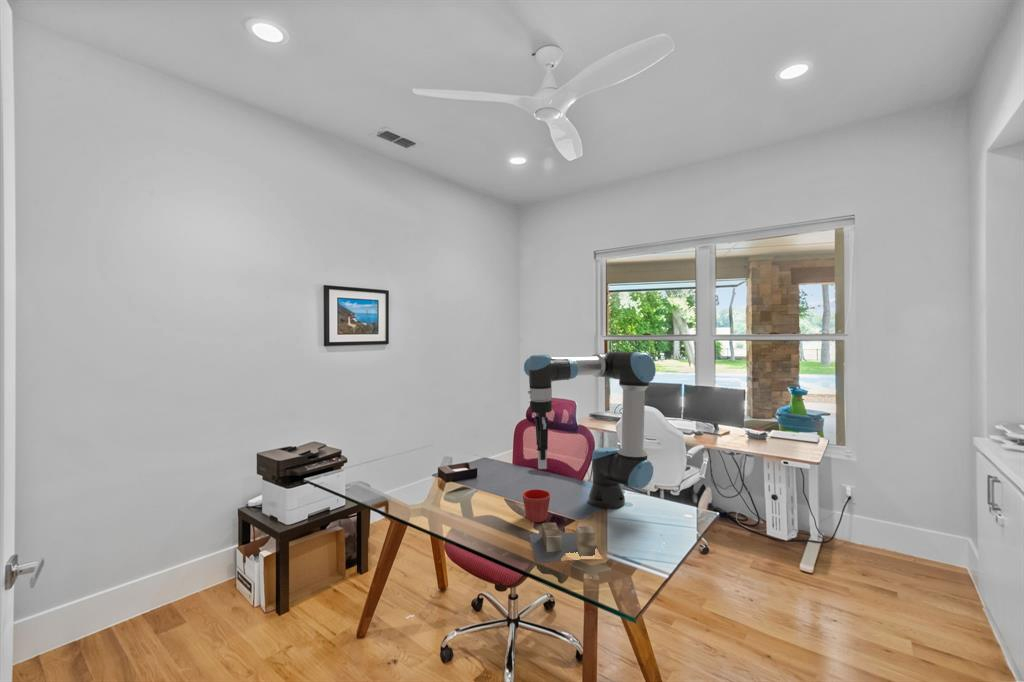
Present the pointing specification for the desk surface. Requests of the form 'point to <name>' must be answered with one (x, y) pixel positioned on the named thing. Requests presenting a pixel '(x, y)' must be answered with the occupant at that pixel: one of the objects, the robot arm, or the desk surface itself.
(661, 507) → the desk surface
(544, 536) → the grey brown block
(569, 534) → the mat
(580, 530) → the grey beige upright block
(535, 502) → the flower pot
